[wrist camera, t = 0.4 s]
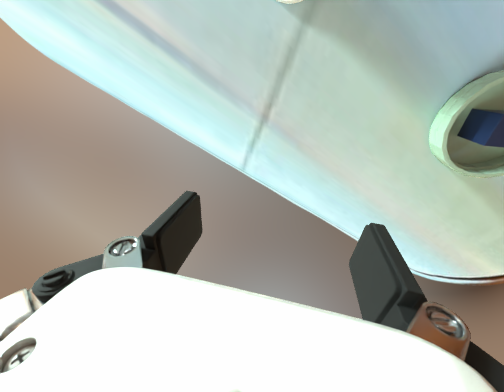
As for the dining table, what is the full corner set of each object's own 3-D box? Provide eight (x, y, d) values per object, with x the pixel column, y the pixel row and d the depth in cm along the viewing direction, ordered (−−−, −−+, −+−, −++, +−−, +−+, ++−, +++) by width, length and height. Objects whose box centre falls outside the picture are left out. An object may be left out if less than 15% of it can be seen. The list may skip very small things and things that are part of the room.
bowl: (458, 66, 32) (479, 64, 28) (585, 70, 30) (627, 69, 26) (412, 162, 41) (423, 171, 37) (508, 172, 38) (531, 183, 34)
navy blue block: (471, 108, 34) (504, 114, 29) (520, 111, 33) (564, 118, 27) (456, 135, 36) (483, 145, 31) (501, 139, 35) (538, 150, 30)
